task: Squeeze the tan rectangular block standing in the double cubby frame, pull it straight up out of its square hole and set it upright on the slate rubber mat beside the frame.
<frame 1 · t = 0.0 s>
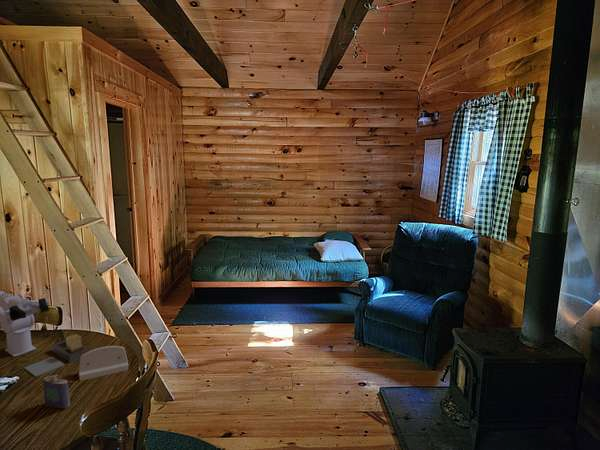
hand: (36, 311, 143), 22 cm above the table, tool horizontal, fingers open, 7 cm apart
grey rounded block: (104, 371, 144), on the table
flask: (57, 405, 123), on the table
tan rectangular block: (74, 355, 154), resting in double cubby frame
double cubby frame: (70, 352, 156), on the table
mat: (44, 366, 145), on the table
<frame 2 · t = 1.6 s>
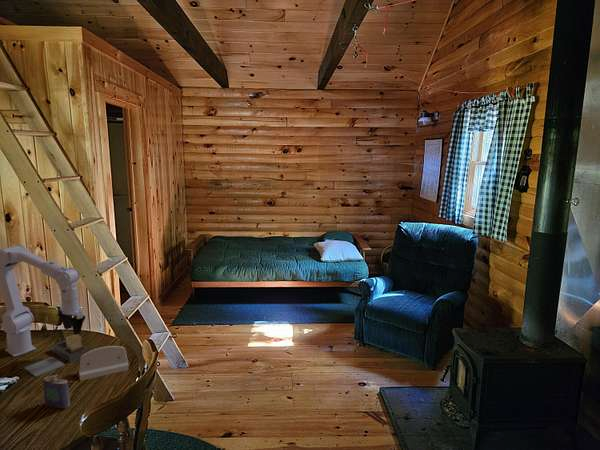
hand: (72, 331, 153), 10 cm above the table, tool pointing down, fingers open, 7 cm apart
nothing on the table moved.
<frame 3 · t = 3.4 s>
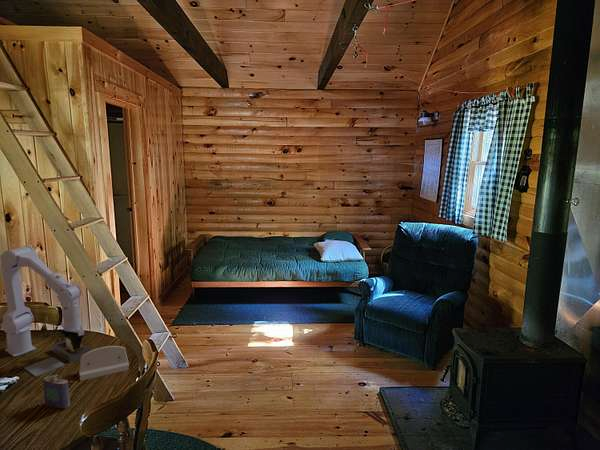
hand: (74, 347, 154), 3 cm above the table, tool pointing down, fingers closed on tan rectangular block, 4 cm apart
tan rectangular block: (74, 355, 154), resting in double cubby frame, touching gripper
everything else where it was.
when the fingers open (5 cm above the table, at t = 7.9 s): tan rectangular block stays where it is, resting on mat.
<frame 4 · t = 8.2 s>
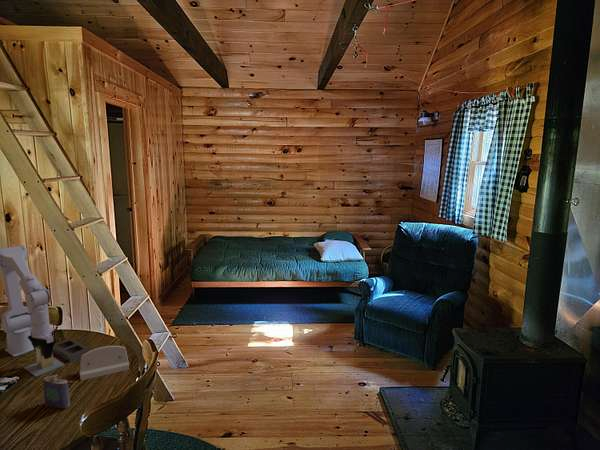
hand: (43, 355, 145), 5 cm above the table, tool pointing down, fingers open, 7 cm apart
tan rectangular block: (45, 365, 146), resting on mat
everything else where it was.
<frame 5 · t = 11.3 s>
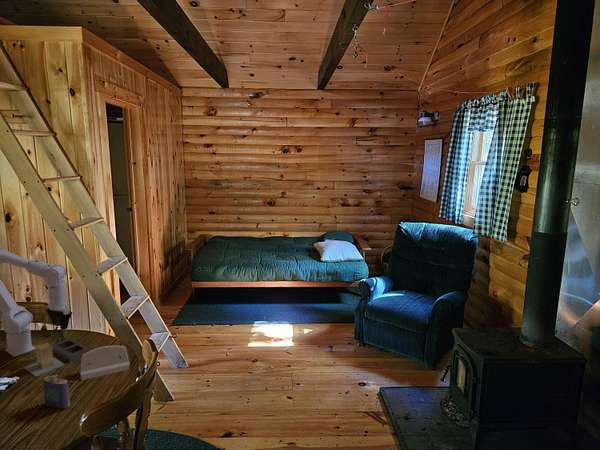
hand: (60, 326, 156), 10 cm above the table, tool pointing down, fingers open, 7 cm apart
nothing on the table moved.
at the end: tan rectangular block inside the target area (0.3 cm from its centre), resting on mat; tan rectangular block tilted 0°; the gripper is holding nothing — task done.
